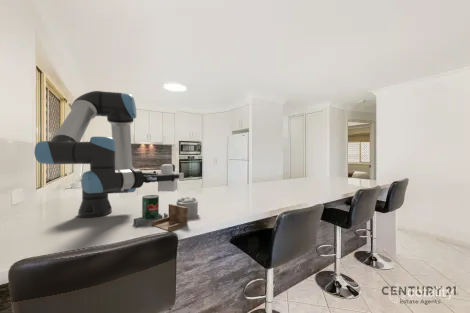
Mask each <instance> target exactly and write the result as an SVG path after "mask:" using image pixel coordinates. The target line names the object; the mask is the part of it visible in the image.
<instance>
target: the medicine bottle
mask: <svg viewBox="0 0 470 313" xmlns="http://www.w3.org/2000/svg"><path fill="white" fill-rule="evenodd" d="M160 172H161V173H162V175H163V174H174V173H176V165H175V164H174V163H165V164H161V166H160ZM176 190H178V179H177V180H174V181H173V182H172V181H158V182H157V191H158V192H175V191H176Z"/></svg>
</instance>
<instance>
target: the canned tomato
mask: <svg viewBox="0 0 470 313" xmlns="http://www.w3.org/2000/svg"><path fill="white" fill-rule="evenodd" d="M141 202H142V203H141V204H142V205H141V217H143V218H145V221H155V220H158V218H159V214H160V212H159V203H160V196H159V194H148V195H143V196H142V197H141Z"/></svg>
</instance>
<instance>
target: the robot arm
mask: <svg viewBox="0 0 470 313" xmlns="http://www.w3.org/2000/svg"><path fill="white" fill-rule="evenodd" d="M96 117H106V118H107V122H108V123H109V124H110V125H111V137H110V136H91V137H90V138H89V139H90V140H89V141H81V140H82V138H83V137H84V135H85V132H86V130H87V128H88V127H89V125H90V122H91V121H92V120H93V119H95V118H96ZM136 118H137V106H136V102H135V99H134V96H133V95H132V94H129V93H125V92H124V93H123V92H117V91H116V92H114V91H113V92H112V91H102V90H94V91H93V90H92V91H89V92H87V93H84V94H82V95H79V96H78V97H76V99H75V100H73V102H72V103H71V105H70V112H69V113H68V115H67V116H66V117H65V120H64V121H63V122H62V124H61V125H60V126H59V128H58V130H57V131H56V132H55V134H54V135H53V137H52V138H51V140H42V141H38V142H37V143H36V144H35V147H34V152H33V153H34V157H35V160H36V161H37V162H38V163H40V164H42V165H89V170H88V171H84V172H83V173H82V175H81V179H80V180H81V181H80V182H81V187H82V188H81V193H82V194H81V196H82V197H81V198H82V199H81V202H80V205H79V208H78V212H77V215H78V216H77V217H79V218H85V219H87V218H97V217H103V216H107V215H109V214H111V213H112V212H113V209H112V205H111V202H110V200H109V194H110V195H111V194H129V193H135V192H136V191H137V189H139V188H141V187H142V186H143V185H144V183H145V184H150V183H156V182H157V183H158V181H172V182H173V181H174V180H177V181H178V180H184V179H185V178H184V177H185V173H184V172H175V173H174V174H163V175H162V173H161V171H159V172H157V171H156V170H155V171H152V172H143V171H142V170H141V169H139V168H135V167H134V166H133V159H132V158H133V157H132V155H133V154H132V134H131V132H132V131H131V124H132V123H134V119H136Z"/></svg>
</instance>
